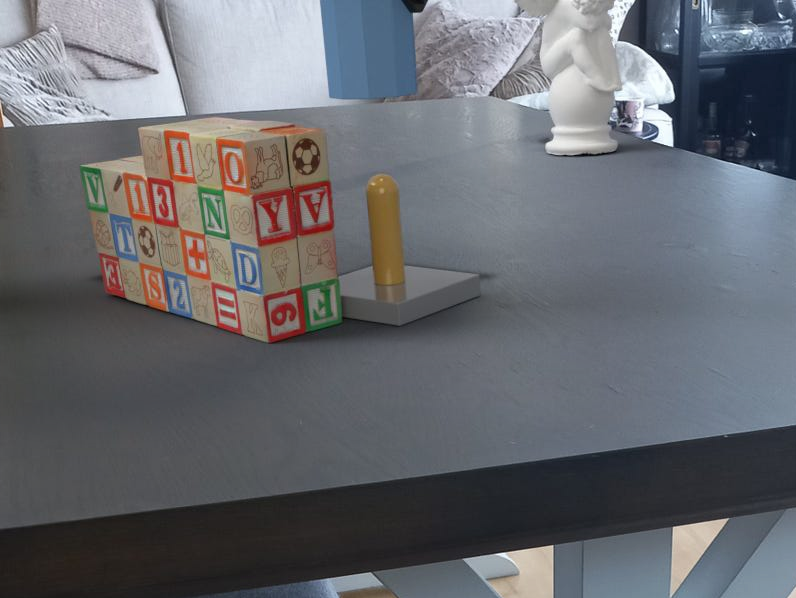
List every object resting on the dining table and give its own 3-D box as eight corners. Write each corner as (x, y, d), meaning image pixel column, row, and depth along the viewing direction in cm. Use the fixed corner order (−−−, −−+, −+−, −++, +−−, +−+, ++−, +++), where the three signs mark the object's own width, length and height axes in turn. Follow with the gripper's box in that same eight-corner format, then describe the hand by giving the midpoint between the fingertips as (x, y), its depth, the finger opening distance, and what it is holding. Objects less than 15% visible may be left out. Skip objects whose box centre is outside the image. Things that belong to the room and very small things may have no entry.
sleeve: (311, 98, 78) (294, -63, 73) (370, 89, 82) (358, -64, 77) (377, 100, 75) (364, -68, 70) (435, 90, 79) (426, -69, 74)
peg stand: (300, 310, 84) (285, 180, 80) (383, 282, 90) (374, 160, 86) (399, 326, 79) (389, 189, 75) (480, 295, 86) (475, 167, 81)
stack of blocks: (102, 295, 91) (68, 119, 85) (175, 279, 94) (147, 109, 88) (269, 344, 77) (243, 137, 71) (346, 322, 81) (327, 124, 75)
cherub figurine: (631, 154, 142) (634, -61, 131) (529, 163, 139) (524, -56, 129) (597, 142, 152) (597, -59, 141) (502, 150, 150) (495, -53, 139)
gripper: (349, -322, 60) (499, -51, 74) (156, -279, 67) (325, -41, 81) (287, -199, 58) (451, 52, 72) (98, -169, 66) (280, 53, 80)
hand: (384, 2), depth 77 cm, fingers closed on sleeve, 5 cm apart
